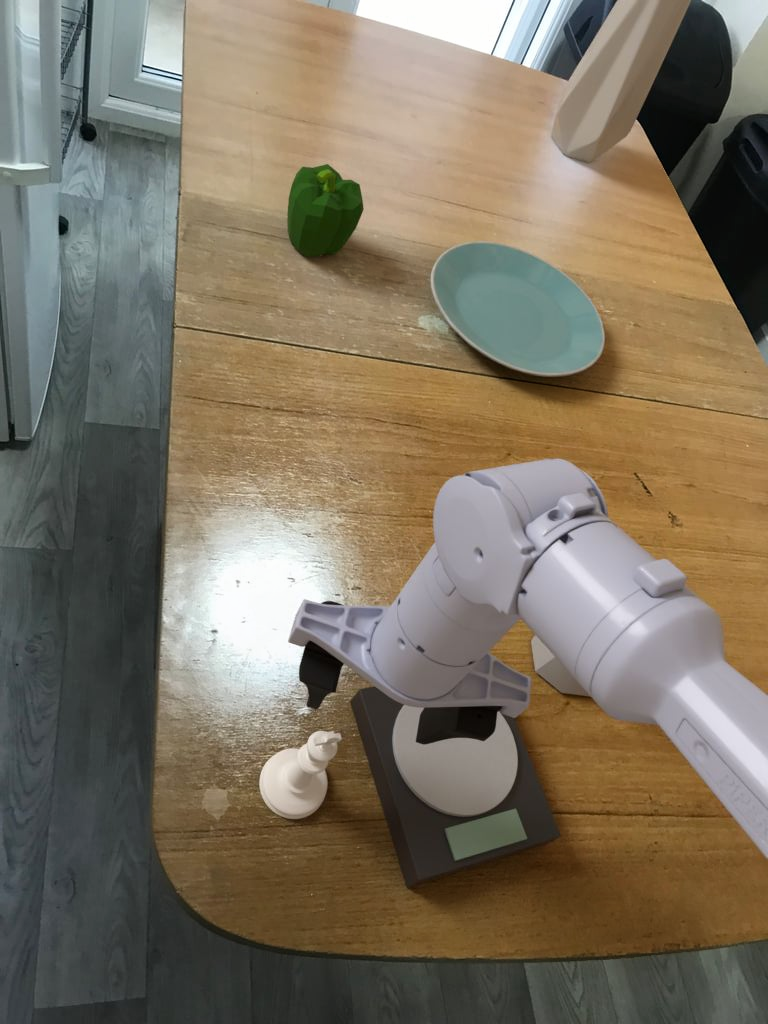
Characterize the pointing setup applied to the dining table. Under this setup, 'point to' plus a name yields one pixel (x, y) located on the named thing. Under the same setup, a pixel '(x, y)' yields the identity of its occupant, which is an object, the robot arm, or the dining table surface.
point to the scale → (451, 791)
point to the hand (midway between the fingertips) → (369, 712)
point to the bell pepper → (322, 210)
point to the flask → (554, 670)
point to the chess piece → (299, 776)
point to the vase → (615, 76)
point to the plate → (517, 309)
